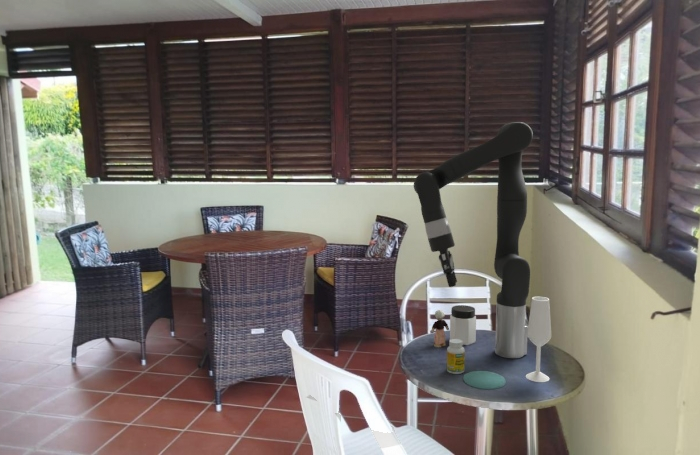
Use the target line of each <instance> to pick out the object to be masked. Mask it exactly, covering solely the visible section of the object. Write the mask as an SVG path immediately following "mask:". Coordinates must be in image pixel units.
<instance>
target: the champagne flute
mask: <svg viewBox="0 0 700 455" xmlns="http://www.w3.org/2000/svg"><path fill="white" fill-rule="evenodd" d="M550 306H551V305H550V298H548V297H545V296H533V297H531V304H530V310H529V311H530V312H529V318H528V325H527V327H528V331H527V339H529V341H530V342H531V343H532V344H533V345H534V346H536V352H535V353H536V354H535V357H536V358H535V370H534V371H532V372H529V373H527V374H526V375H525V378H526V379H527V380H529V381H532V382H536V383H545V382H549V381H550V377H549V376H548V375H546V374H545V373H543V372H541V353H542V351H541V350H542V347H543V346H544V345H546V344H547V343H549V341H550V340H551V338H552V325H551V324H552V322H551V308H550Z"/></svg>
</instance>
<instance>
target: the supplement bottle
mask: <svg viewBox="0 0 700 455" xmlns="http://www.w3.org/2000/svg"><path fill="white" fill-rule="evenodd" d="M448 344H449V346H448V347H447V348H446V371H447V372H448V373H449V374H454V375H459V374H463V373H464V372H465V367H466V366H465V360H466V358H465V356H466V350H465V348H464V345H463V341H462V340H460V339H451V340H450V339H449V343H448Z"/></svg>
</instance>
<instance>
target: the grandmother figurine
mask: <svg viewBox="0 0 700 455" xmlns="http://www.w3.org/2000/svg"><path fill="white" fill-rule="evenodd" d="M434 316H435V319H436V321H435V322H433V325H432V326H431V330H430V333H431V334H433V333H434V338H433V340H434V345H433V347H435V348H442V347H446V346H447V344H446V333H445V330H446V331H450V327H449V325H448V323H447V322H446V320H445V319H444V317H445V316H446V314H445V311H443V310H441V309H438V310H436V311H435V313H434Z"/></svg>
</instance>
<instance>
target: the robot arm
mask: <svg viewBox="0 0 700 455" xmlns="http://www.w3.org/2000/svg"><path fill="white" fill-rule="evenodd" d="M533 134H534V133H533V130H532V128H531V127H530V126H529V124H527V123H525V122H521V121H515V122H514V121H513V122H507V123H505V124H504V125H502V126H500V128H499V129H498V132H497V134H496V136H494V137H493V138H491V139H489V140H488V141H486V142H484V143H481V144H480V145H477V146H475V147H473V148H469V149H468V150H465V151H462V152H461V153H459V154H457V155H455V156H453V157H450V158H449V159H447V160H445V161H443V162H442V163H441V164H440V165H438V166H436V167H434V168H432V169H431V170H428V171H425V172H421V173H419V174H418V175H417V176H416V178H415V179H414V182H413V188H414V189H413V190H414V191H415V193H416V194H417V197H418V201H419V203H420V210H421V216H422V220H423V223H424V227H425V233H426V236H427V240H428V243H429V247H430V250H431V252H432V253H436V252H439V256H438V259H439V263H440V266H441V269H442V270H443V271H442V272H443V274H444V276H445V278H446V282H447V286H448V287H449V288H452V287H455V286H456V284H457V282H458V279H457V276H456V272H455V263H454V259H453V255H452V253H451V251H450V250H449V249H450V248H453V247H455V245H456V244H455V241H454V237H453V233H452V229H451V227H450V224H449V221H448V219H447V216H446V212H445V209H444V206H443V202H442V197H441V191H440V189H442V188H444V187H446V186H447V185H449V184H452V183H454V182H456V181H458V180H460V179H462V178H464V177H466V176H467V175H469V174H472V173H473V172H475V171H477V170H478V169H481V168H482V167H484V166H486V165H488V164H490V163H491V162H493V161H496V160H497V161H498V174H497V175H498V176H497V193H496V194H497V196H496V214H497V215H496V246H495V255H494V262H493V263H494V264H493V269H494V272H495V274H496V276H497V277H498V278H499V279H501V291H499V292H498V293H497V294H496V310H495V311H496V312H495V314H496V315H495V341H494V342H495V347H494V348H495V349H494V352H495V354H496V355H497V356H499V357H502V358H506V359H519V358H522V357H524V356H525V355H527V354H528V353H527V352H528V336H527V331H528V325H526V312H527V310H526V309H527V308H526V307H527V305H526V304H527V298H528V297H529V293H530V283H531V282H530V281H531V268H530V265H529V264H530V263H529V262H528V261H527V260H526V259H525V258H524V257H521V256H520V254H519V253H520V252H519V241H520V239H519V238H520V234H521V231H522V229H523V226H524V224H525V221H526V218H527V213H528V212H527V211H528V193H527V185H526V182H525V178H524V174H523V169H522V162H523V161H522V157H523V151H524V150H526V149H527V148H529V146H531V144H532V142H533V136H534V135H533Z"/></svg>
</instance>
